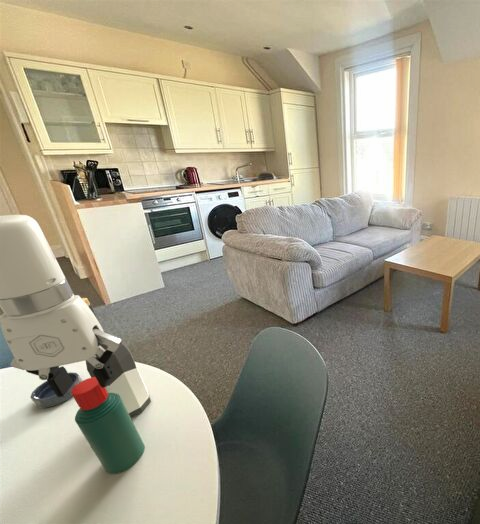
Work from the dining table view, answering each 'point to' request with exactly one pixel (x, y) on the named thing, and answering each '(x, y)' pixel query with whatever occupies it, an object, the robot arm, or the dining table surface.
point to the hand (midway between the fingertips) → (87, 385)
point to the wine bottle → (124, 376)
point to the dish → (52, 393)
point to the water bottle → (111, 434)
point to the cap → (89, 394)
